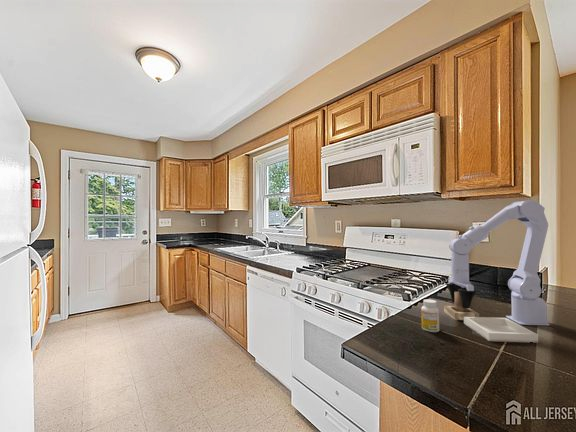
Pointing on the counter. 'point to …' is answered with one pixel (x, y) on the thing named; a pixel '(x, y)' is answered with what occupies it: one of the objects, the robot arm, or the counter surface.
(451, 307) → the collar
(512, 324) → the tray
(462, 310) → the wooden dowel
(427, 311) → the supplement bottle
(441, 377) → the counter surface
